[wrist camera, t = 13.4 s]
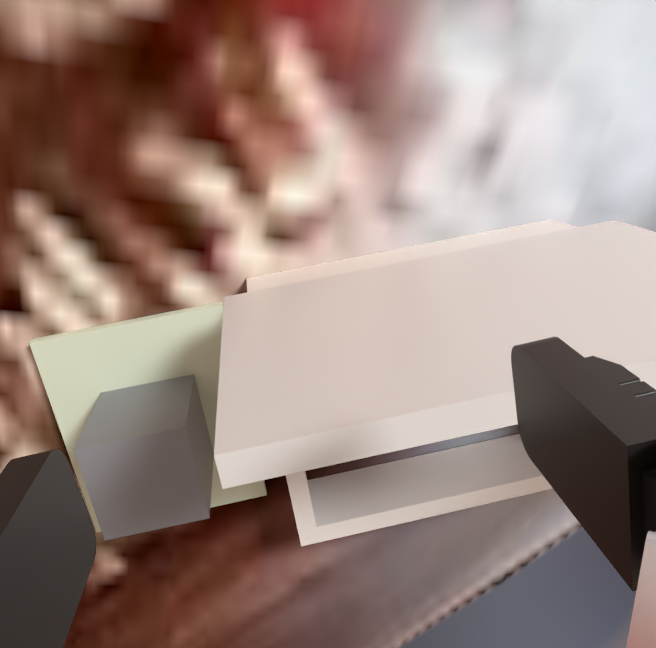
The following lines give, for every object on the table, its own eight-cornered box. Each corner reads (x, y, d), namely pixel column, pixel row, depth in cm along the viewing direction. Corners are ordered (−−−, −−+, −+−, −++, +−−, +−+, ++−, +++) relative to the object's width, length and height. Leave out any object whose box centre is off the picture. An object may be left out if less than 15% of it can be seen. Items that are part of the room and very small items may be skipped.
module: (194, 374, 34) (185, 427, 28) (213, 453, 36) (209, 518, 30) (101, 392, 34) (73, 449, 28) (125, 471, 35) (104, 540, 30)
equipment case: (568, 206, 34) (906, 306, 17) (575, 435, 39) (842, 692, 22) (225, 272, 33) (213, 455, 16) (277, 501, 38) (312, 832, 21)
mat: (222, 301, 33) (222, 304, 33) (266, 489, 38) (266, 495, 37) (32, 338, 33) (28, 342, 32) (98, 526, 37) (96, 532, 36)
